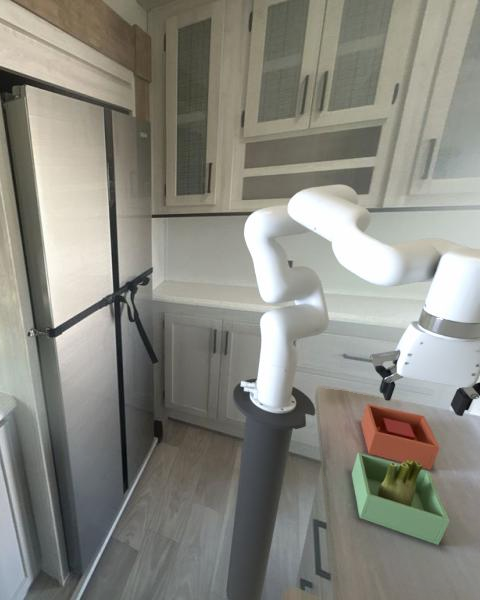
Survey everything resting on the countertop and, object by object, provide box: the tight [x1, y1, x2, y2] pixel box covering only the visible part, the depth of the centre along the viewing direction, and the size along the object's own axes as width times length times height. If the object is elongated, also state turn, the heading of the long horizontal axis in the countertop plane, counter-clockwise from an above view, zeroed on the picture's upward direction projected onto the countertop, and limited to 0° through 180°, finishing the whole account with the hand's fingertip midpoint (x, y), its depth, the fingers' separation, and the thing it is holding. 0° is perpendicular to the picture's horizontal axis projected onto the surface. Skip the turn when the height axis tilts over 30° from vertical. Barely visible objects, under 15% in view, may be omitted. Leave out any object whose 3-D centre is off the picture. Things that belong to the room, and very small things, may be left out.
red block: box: [379, 418, 415, 440], centre depth 82 cm, size 5×5×5 cm
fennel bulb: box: [378, 460, 423, 507], centre depth 67 cm, size 6×5×12 cm
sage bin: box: [351, 452, 451, 546], centre depth 69 cm, size 12×12×7 cm
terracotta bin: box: [360, 403, 440, 471], centre depth 82 cm, size 11×11×7 cm
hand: (419, 403), depth 62 cm, fingers open, 9 cm apart
